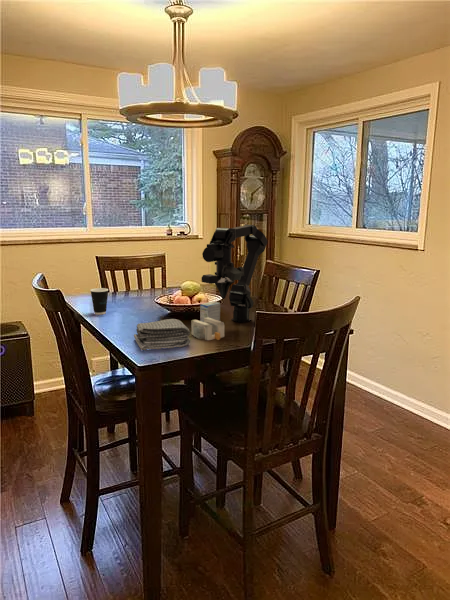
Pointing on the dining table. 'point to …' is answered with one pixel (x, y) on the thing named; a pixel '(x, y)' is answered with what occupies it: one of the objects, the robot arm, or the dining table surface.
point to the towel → (162, 334)
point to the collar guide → (209, 328)
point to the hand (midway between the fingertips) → (223, 298)
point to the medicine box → (210, 311)
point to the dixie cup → (99, 300)
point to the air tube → (200, 331)
